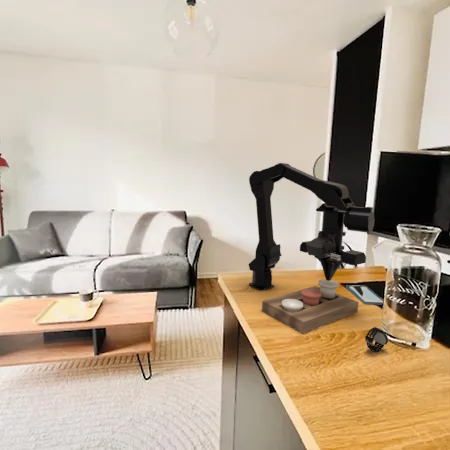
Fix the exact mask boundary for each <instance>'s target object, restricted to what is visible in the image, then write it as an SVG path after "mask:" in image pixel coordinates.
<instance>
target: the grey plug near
mask: <svg viewBox="0 0 450 450" xmlns="http://www.w3.org/2000/svg"><path fill="white" fill-rule="evenodd" d="M282 306H283V307H284V309H286V310H288V311H290V312H292V313H294V312H297V311H300V310H301V309H302V308H303V303H302V302H301V301H299V300H296V299H284V300H283V301H282Z"/></svg>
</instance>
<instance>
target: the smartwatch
mask: <svg viewBox="0 0 450 450" xmlns="http://www.w3.org/2000/svg"><path fill="white" fill-rule="evenodd" d="M364 341H365V342H366V346H367V348H368V349H369V350H370V351H373V352H375V353H378V352H380V351H381V350H382V349H383V348H384V346H385V345H388V343H389V338H388V335H387V334H386V332H385V331H384V330H382V329H381V328H378V327H376V326H374V327H372V328H370V330H369V331H368V332H367V334H365V336H364Z"/></svg>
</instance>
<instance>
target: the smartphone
mask: <svg viewBox="0 0 450 450" xmlns="http://www.w3.org/2000/svg"><path fill="white" fill-rule="evenodd" d="M345 288H346V290H348V291H349V292H350V293H351V294H353V296H354V297H356V298H357V299H358V300H359V301H360V302H361V303H362V304H364V305H368V306H370V305H374V306H376V305H377V306H383V305H382V304H383V300H384V299H383V298H382V297H381V296H379V295H378V294H377V293H375V292H374V291H373V290H372V289H371V288H369V286H367V285H360V284H359V285H357V284H354V285H352V284H349V285H348V284H346V286H345Z"/></svg>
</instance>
